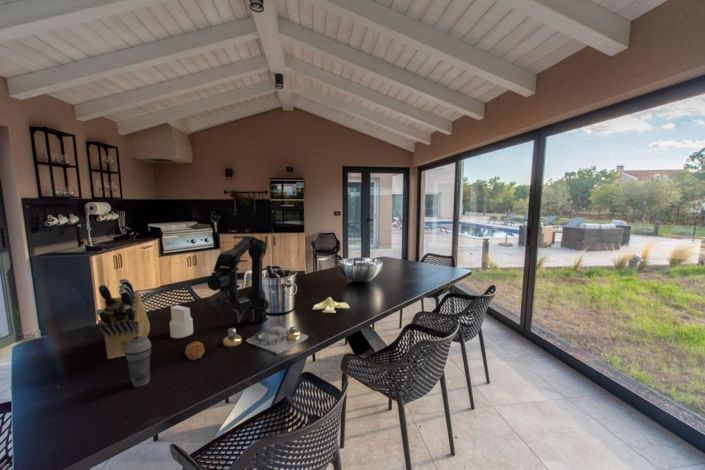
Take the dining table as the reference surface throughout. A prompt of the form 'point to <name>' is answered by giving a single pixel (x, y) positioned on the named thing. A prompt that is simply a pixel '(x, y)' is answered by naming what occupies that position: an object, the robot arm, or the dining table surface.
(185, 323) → the cylinder with rectangular tab
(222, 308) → the robot arm
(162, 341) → the dining table surface
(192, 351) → the pastry
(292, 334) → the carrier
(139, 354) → the beverage cup
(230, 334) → the gear
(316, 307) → the bird figurine
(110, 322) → the knife block
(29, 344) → the dining table surface
